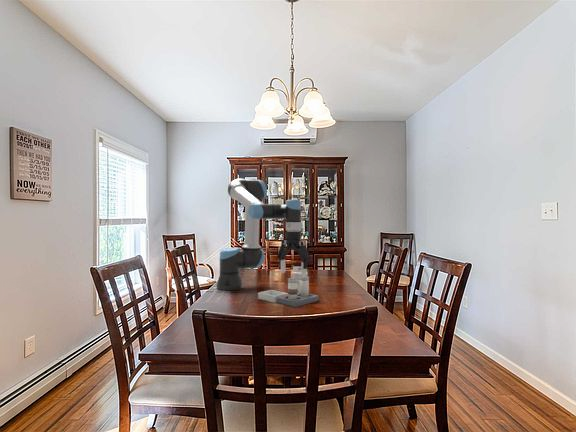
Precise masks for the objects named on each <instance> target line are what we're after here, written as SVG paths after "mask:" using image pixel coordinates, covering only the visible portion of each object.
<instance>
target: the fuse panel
mask: <svg viewBox="0 0 576 432" xmlns="http://www.w3.org/2000/svg"><path fill="white" fill-rule="evenodd" d="M319 300H320V297H319V295H317V294H312V293H309V297H301V296H300V292H299V293H297V300H289V299H288V295H287V296H286V295H285V296H282V297H278V298H277V302H276V303H277V304H281V303H282V305H285V304H286V305H285V306H289V307H294V308H297V307H301V306H304V305H307V304H312V303H315V302H319Z"/></svg>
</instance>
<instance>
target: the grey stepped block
mask: <svg viewBox="0 0 576 432" xmlns="http://www.w3.org/2000/svg"><path fill="white" fill-rule="evenodd" d="M308 275H309V273H308V268H307V269H306V276H308ZM300 276H301V265H300V266H294V265H293V268H292V273H291V278H297V279H298V282H297V293H299V292H300Z"/></svg>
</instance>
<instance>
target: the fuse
mask: <svg viewBox="0 0 576 432" xmlns="http://www.w3.org/2000/svg"><path fill="white" fill-rule="evenodd" d="M309 286H310V276H300V296H301V297H309V294H310V292H309V291H310V287H309Z"/></svg>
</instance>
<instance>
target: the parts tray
mask: <svg viewBox="0 0 576 432" xmlns="http://www.w3.org/2000/svg"><path fill="white" fill-rule="evenodd" d="M285 295H286V296H287V295H288V292H284V291H279V290H273V289H269V290H264V291H260V292H257V299H258V300H262V301H265V300H266V302H269V303H277V298H278V297H282V296H285Z"/></svg>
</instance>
